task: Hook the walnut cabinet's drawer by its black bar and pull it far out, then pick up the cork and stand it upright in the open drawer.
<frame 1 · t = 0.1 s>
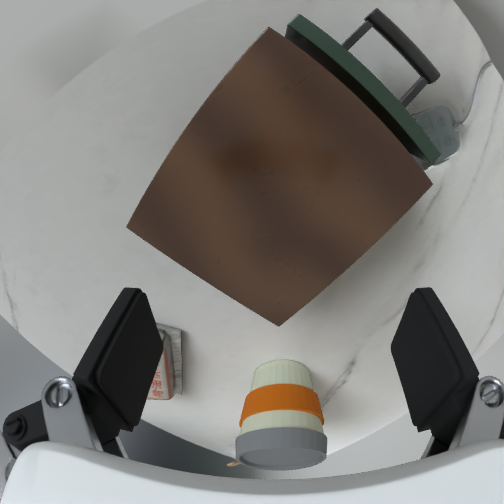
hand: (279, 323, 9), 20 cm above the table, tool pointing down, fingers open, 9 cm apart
packaged product: (154, 355, 42), on the table
cabinet: (275, 165, 26), on the table
drawer: (323, 126, 19), point 5 cm above the table, slide at 1.0 cm
reusable coffee cup: (281, 374, 42), on the table
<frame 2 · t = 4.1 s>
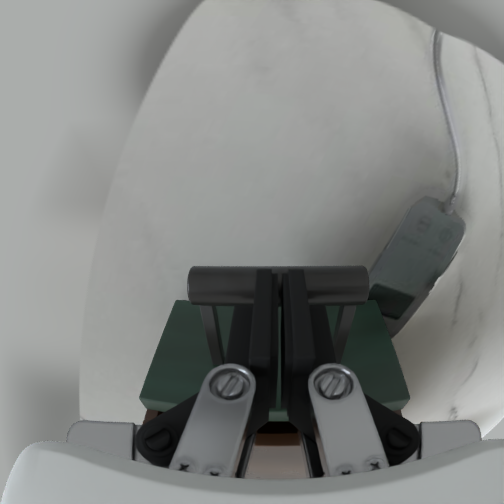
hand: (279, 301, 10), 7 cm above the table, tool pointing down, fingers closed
cabinet: (274, 381, 24), on the table
drawer: (274, 393, 17), point 5 cm above the table, slide at 1.3 cm, touching gripper
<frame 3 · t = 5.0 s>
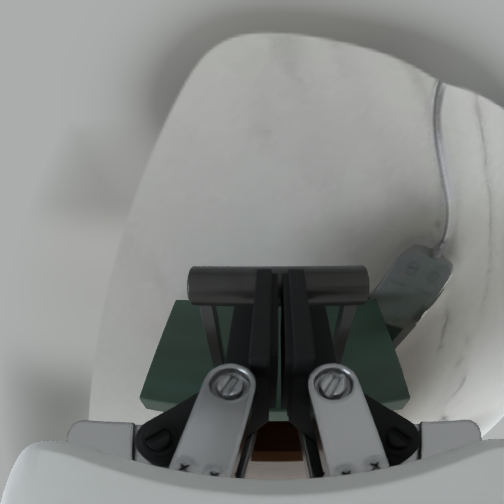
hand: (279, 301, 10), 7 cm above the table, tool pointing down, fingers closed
cabinet: (273, 398, 26), on the table
drawer: (275, 392, 17), point 5 cm above the table, slide at 4.7 cm, touching gripper
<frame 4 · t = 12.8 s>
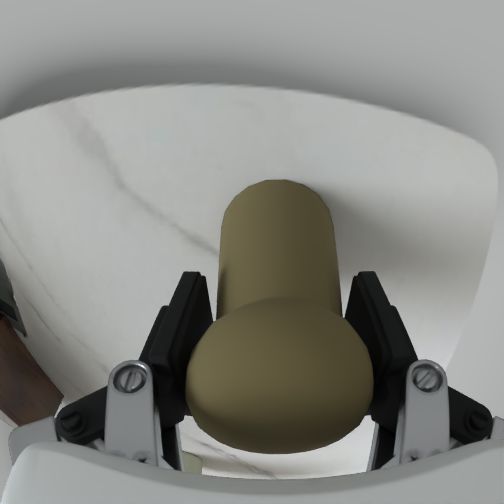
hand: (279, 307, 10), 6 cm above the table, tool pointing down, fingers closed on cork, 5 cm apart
cabinet: (8, 350, 27), on the table
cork: (277, 232, 15), on the table, touching gripper
reusable coffee cup: (176, 455, 38), on the table
when the fingers open (8 cm above the table, at t = 22.2 s): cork stays where it is, resting on drawer.
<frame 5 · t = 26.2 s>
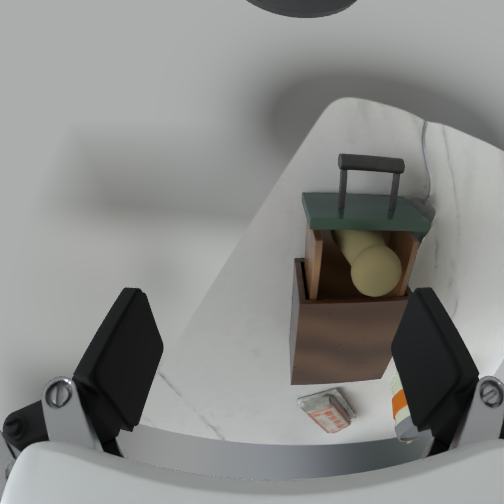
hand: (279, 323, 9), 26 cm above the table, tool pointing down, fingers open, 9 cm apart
packaged product: (328, 406, 60), on the table
cabinet: (337, 303, 42), on the table
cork: (353, 228, 34), point 2 cm above the table, touching drawer
drawer: (359, 243, 32), point 5 cm above the table, slide at 8.6 cm, touching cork
reusable coffee cup: (408, 375, 53), on the table
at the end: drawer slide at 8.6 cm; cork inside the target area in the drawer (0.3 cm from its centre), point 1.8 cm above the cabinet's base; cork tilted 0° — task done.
